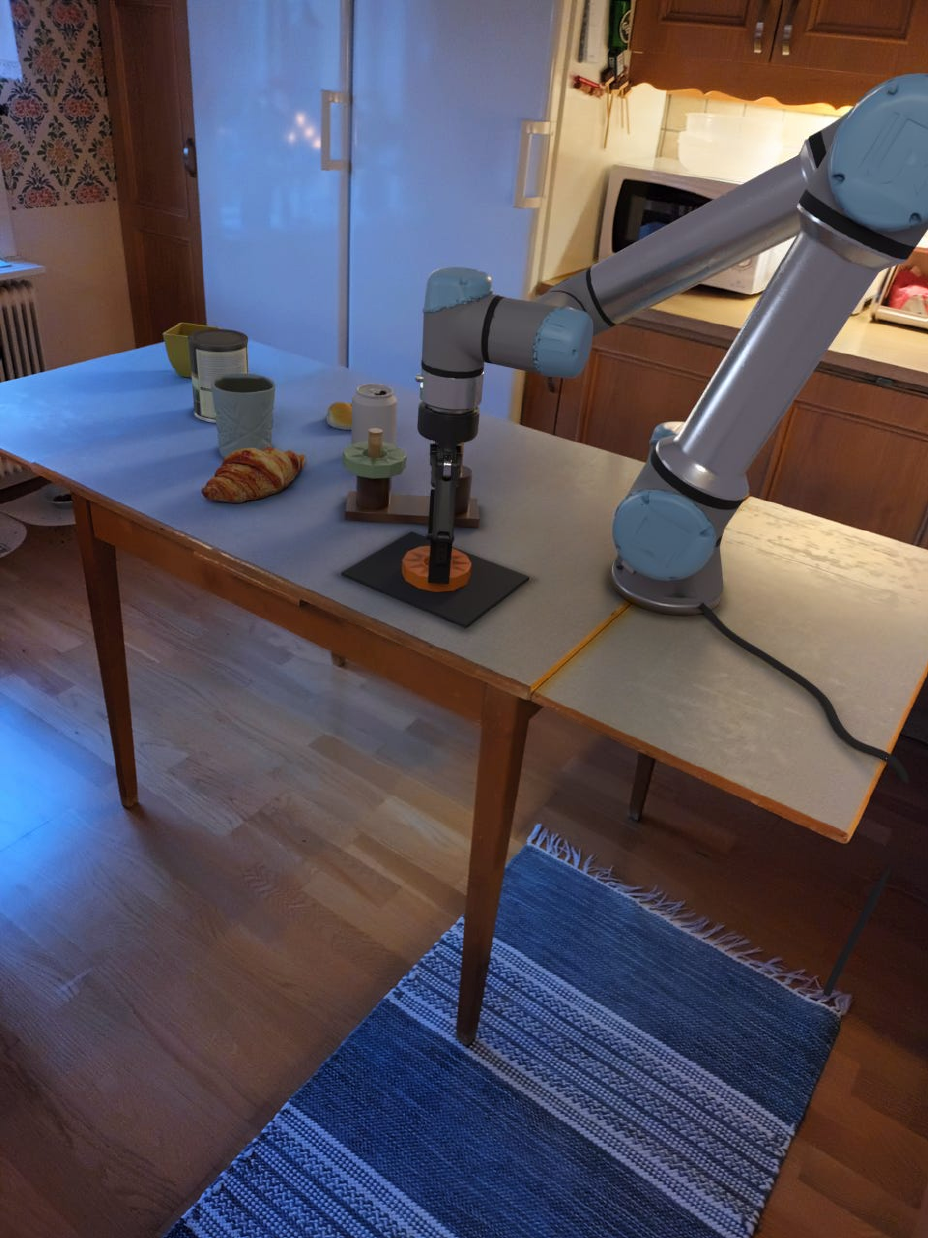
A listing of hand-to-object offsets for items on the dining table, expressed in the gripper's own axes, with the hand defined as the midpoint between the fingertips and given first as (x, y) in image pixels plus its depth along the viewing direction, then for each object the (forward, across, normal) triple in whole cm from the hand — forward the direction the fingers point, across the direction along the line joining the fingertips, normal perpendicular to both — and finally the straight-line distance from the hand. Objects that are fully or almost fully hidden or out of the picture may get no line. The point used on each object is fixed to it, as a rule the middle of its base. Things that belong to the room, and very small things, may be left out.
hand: (437, 556), depth 123 cm
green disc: (-4, -19, -10) cm, 22 cm away
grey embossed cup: (+3, -39, -32) cm, 50 cm away
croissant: (+3, -25, -28) cm, 37 cm away
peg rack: (+3, -19, -4) cm, 20 cm away
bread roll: (+3, -55, -16) cm, 57 cm away
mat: (+3, 0, 0) cm, 3 cm away
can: (+3, -40, -11) cm, 42 cm away
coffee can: (+3, -56, -39) cm, 68 cm away
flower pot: (+3, -76, -48) cm, 90 cm away
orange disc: (+3, 0, 0) cm, 3 cm away
